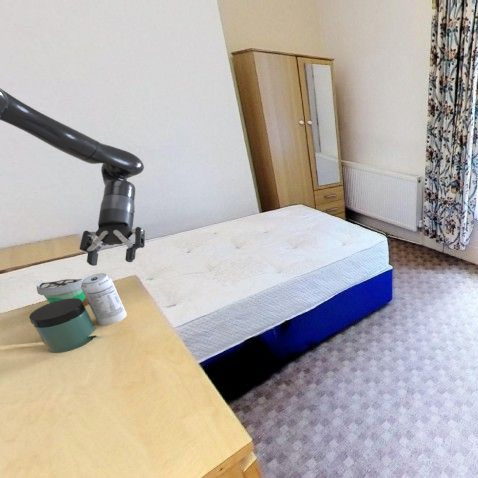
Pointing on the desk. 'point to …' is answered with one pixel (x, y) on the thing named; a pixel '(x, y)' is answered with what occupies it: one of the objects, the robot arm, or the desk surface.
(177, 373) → the desk surface
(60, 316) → the jar lid
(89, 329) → the jar
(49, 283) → the food container
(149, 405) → the desk surface
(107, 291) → the energy drink can
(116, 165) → the robot arm
